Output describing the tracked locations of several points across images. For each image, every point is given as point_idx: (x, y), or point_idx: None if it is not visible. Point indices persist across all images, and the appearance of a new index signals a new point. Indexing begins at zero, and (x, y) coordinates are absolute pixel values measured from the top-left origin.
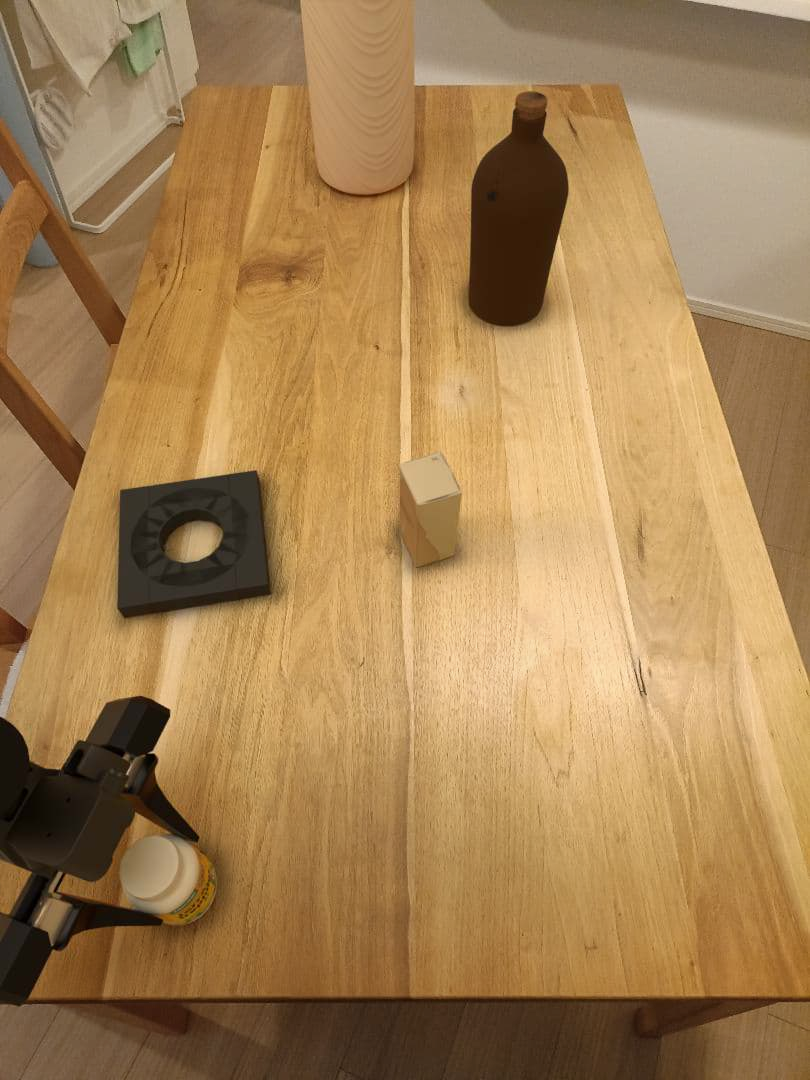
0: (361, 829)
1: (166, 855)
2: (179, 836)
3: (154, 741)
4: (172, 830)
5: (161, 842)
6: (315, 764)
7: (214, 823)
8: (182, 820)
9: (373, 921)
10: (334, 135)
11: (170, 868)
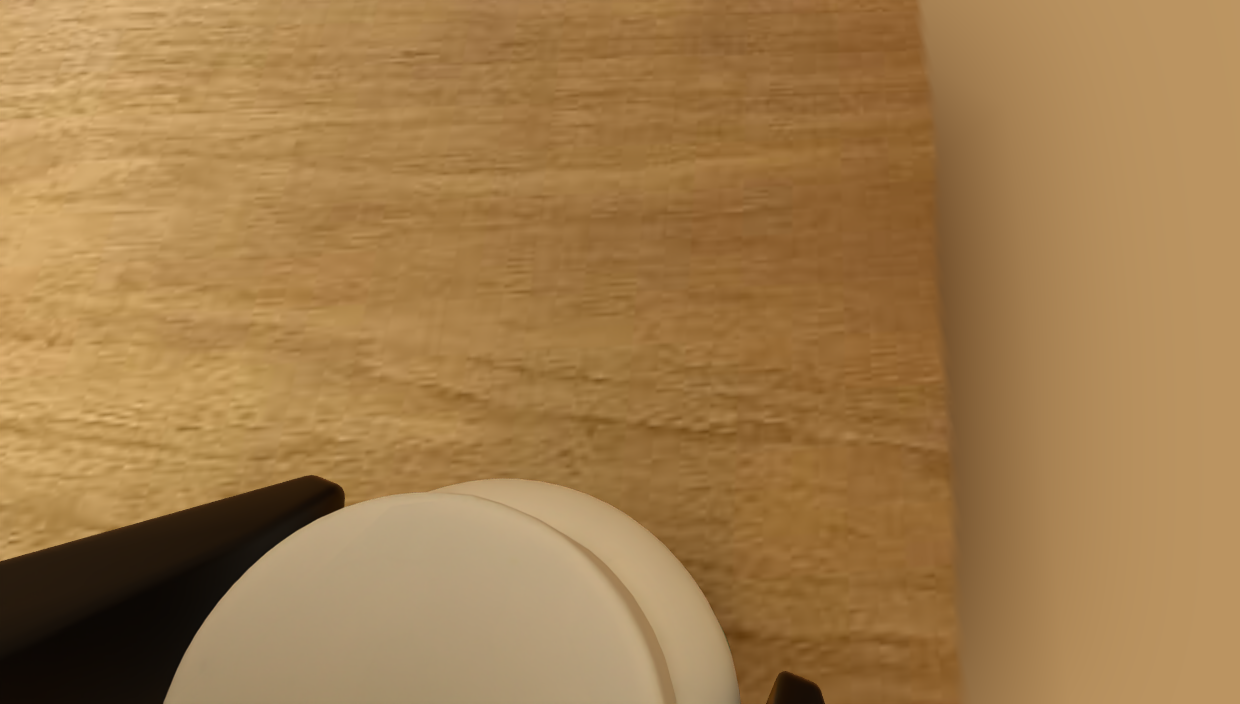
0: (452, 80)
1: (342, 599)
2: None
3: None
4: None
5: (225, 653)
6: (210, 222)
7: None
8: (133, 529)
9: (729, 41)
10: None
11: (450, 550)
